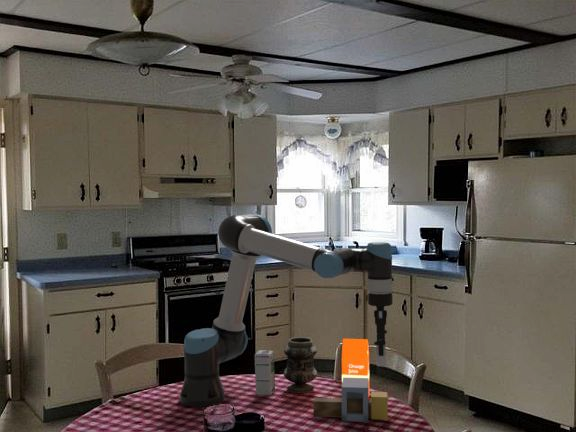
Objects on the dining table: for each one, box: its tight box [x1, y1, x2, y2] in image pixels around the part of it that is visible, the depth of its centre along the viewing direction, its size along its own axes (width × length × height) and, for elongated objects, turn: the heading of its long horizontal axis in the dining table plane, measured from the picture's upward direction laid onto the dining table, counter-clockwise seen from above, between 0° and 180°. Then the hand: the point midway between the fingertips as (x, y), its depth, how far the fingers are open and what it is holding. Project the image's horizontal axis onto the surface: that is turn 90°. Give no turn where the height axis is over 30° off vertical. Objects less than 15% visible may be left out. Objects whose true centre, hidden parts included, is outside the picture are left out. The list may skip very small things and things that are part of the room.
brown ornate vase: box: [283, 336, 318, 394], centre depth 221 cm, size 12×12×18 cm
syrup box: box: [254, 349, 276, 396], centre depth 218 cm, size 6×6×14 cm
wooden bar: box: [312, 397, 372, 419], centre depth 195 cm, size 18×4×5 cm, turn 83°
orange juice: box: [341, 338, 370, 399], centre depth 212 cm, size 8×9×20 cm
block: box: [370, 391, 389, 421], centre depth 193 cm, size 5×5×7 cm
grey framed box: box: [341, 378, 370, 423], centre depth 194 cm, size 8×10×10 cm
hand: (381, 360), depth 192 cm, fingers open, 13 cm apart
